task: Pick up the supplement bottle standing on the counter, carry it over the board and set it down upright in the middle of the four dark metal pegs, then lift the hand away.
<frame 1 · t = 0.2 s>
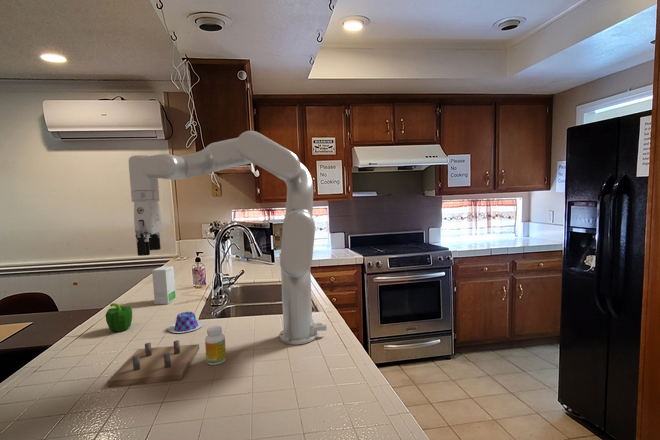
hand: (149, 252, 106), 31 cm above the countertop, tool pointing down, fingers open, 9 cm apart
skincare box: (165, 302, 157), on the countertop
bell pepper: (121, 329, 126), on the countertop
pudding: (186, 328, 126), on the countertop
supplement bottle: (216, 361, 100), on the countertop
peg cradle: (158, 365, 98), on the countertop
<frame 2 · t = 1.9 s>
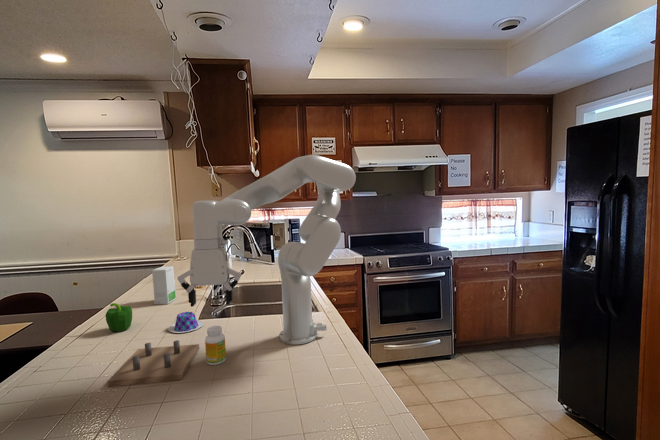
hand: (211, 304, 98), 17 cm above the countertop, tool pointing down, fingers open, 9 cm apart
nothing on the countertop moved.
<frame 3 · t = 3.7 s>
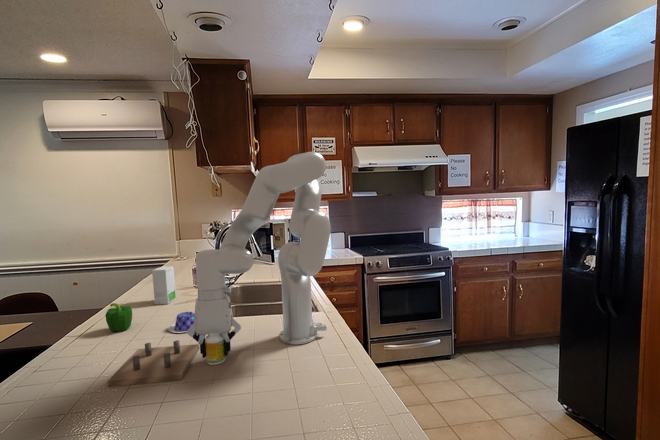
hand: (215, 354, 100), 2 cm above the countertop, tool pointing down, fingers closed on supplement bottle, 5 cm apart
supplement bottle: (216, 361, 100), on the countertop, touching gripper
everything else where it was.
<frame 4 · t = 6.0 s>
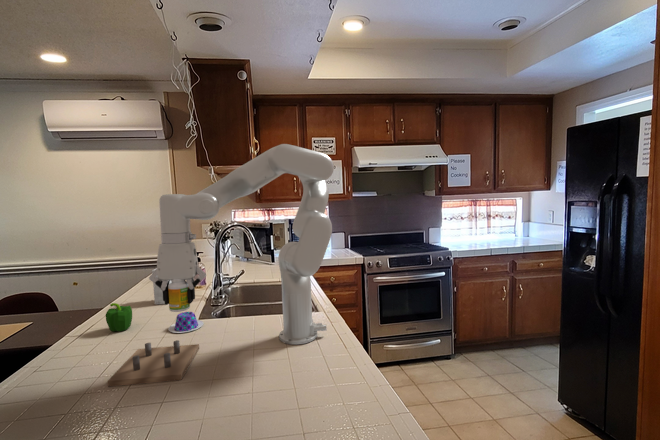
hand: (179, 302, 97), 18 cm above the countertop, tool pointing down, fingers closed on supplement bottle, 5 cm apart
supplement bottle: (179, 309, 97), point 16 cm above the countertop, touching gripper
everything else where it was.
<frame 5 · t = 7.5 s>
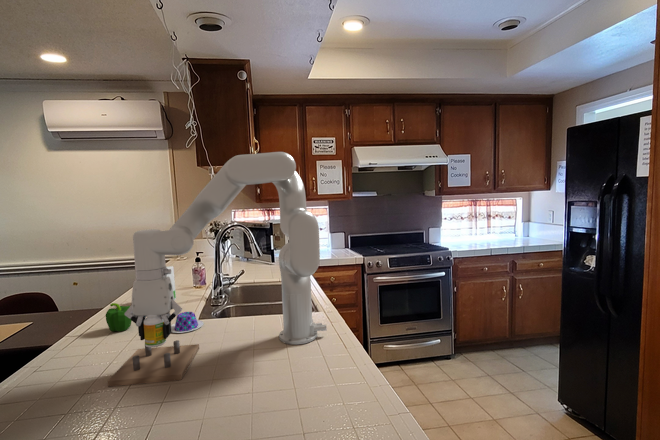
hand: (155, 336, 97), 9 cm above the countertop, tool pointing down, fingers closed on supplement bottle, 5 cm apart
supplement bottle: (155, 344, 97), point 6 cm above the countertop, touching gripper
everything else where it was.
when the fingers open (5 cm above the countertop, at t = 8.5 s): supplement bottle drops 2 cm, resting on peg cradle.
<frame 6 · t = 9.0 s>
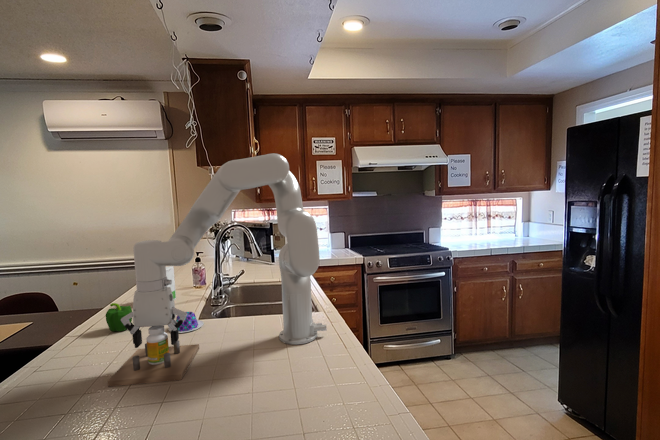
hand: (156, 344, 97), 6 cm above the countertop, tool pointing down, fingers open, 9 cm apart
supplement bottle: (159, 361, 98), point 1 cm above the countertop, touching peg cradle
everything else where it was.
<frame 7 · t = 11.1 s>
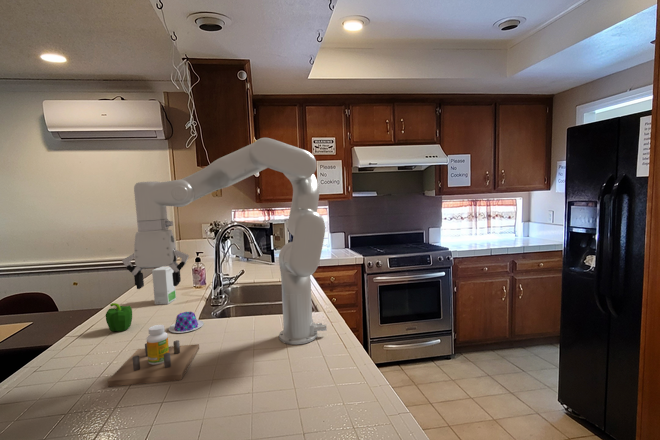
hand: (158, 286, 98), 23 cm above the countertop, tool pointing down, fingers open, 9 cm apart
nothing on the countertop moved.
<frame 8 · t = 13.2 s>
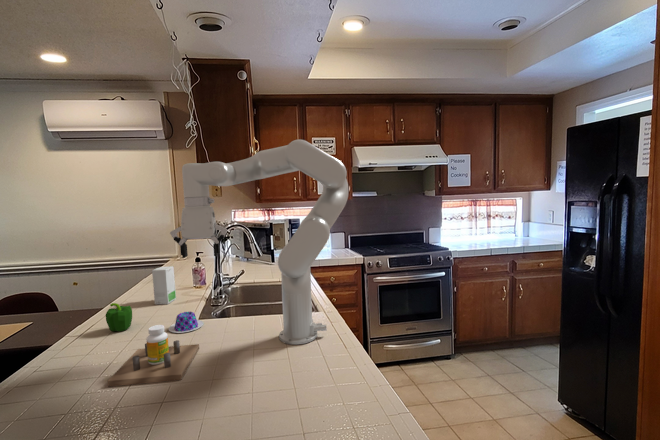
hand: (200, 256, 111), 28 cm above the countertop, tool pointing down, fingers open, 9 cm apart
at the end: supplement bottle 0.3 cm off-centre on the peg cradle, point 1.3 cm above the peg cradle's base; supplement bottle tilted 0°; the gripper is holding nothing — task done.
